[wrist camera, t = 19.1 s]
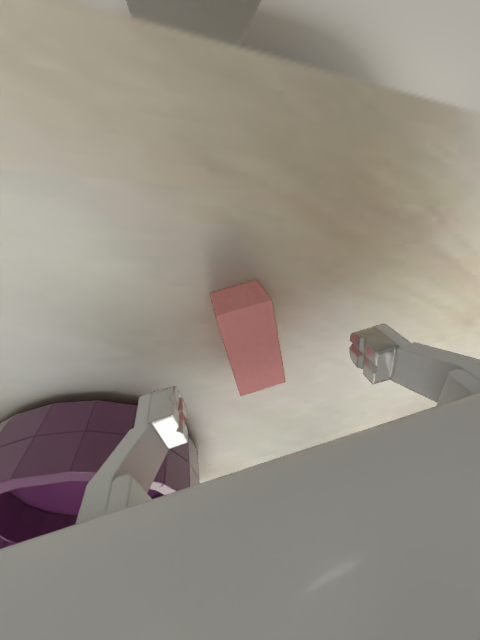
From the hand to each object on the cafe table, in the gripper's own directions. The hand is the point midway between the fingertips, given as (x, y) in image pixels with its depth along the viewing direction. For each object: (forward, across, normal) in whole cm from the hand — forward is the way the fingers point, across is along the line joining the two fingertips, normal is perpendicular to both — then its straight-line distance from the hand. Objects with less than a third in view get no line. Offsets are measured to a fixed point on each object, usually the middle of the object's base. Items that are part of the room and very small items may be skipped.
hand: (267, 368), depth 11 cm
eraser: (+6, 0, +1) cm, 6 cm away
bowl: (+5, +14, +10) cm, 18 cm away
